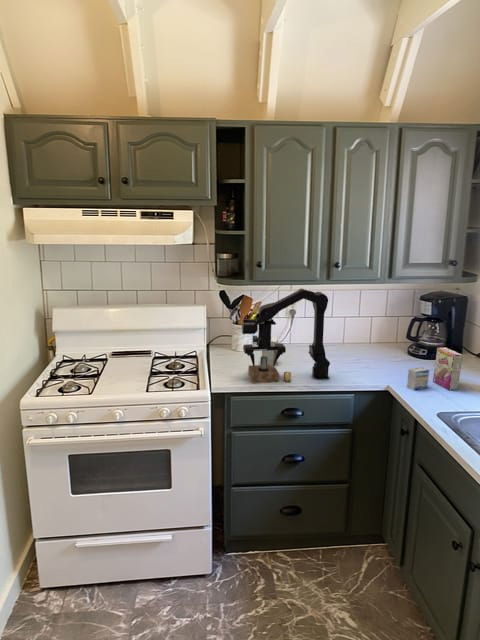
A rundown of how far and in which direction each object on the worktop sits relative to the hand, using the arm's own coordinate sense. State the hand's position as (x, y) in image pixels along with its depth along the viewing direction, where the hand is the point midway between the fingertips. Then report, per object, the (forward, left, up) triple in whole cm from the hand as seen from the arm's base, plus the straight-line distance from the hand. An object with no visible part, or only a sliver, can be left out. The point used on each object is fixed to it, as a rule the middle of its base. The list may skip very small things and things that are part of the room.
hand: (263, 366), depth 215 cm
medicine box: (-66, +18, -6) cm, 69 cm away
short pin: (-10, +5, -6) cm, 13 cm away
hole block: (0, 0, -6) cm, 6 cm away
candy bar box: (-80, +17, -6) cm, 82 cm away
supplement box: (-7, -20, -6) cm, 22 cm away
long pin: (0, 0, -6) cm, 6 cm away
